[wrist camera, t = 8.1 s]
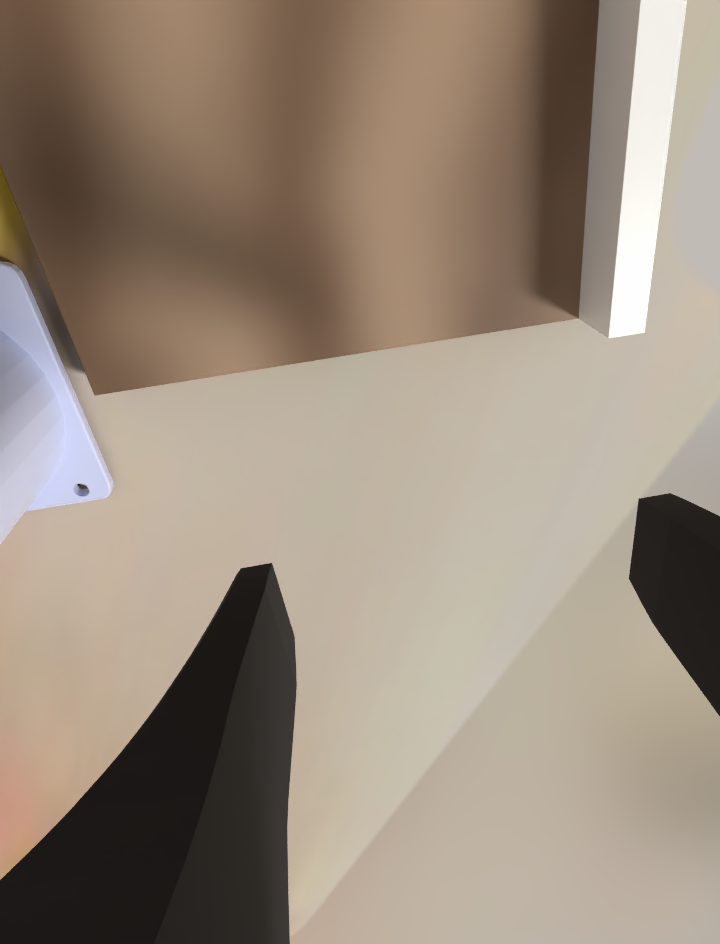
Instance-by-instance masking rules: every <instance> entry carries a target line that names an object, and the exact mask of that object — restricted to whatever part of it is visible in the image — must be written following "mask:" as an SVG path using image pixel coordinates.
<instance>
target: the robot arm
mask: <svg viewBox="0 0 720 944" xmlns="http://www.w3.org/2000/svg"><path fill="white" fill-rule="evenodd" d="M77 484H83V485H86V486H87V487H88V489H89V490H82V489H80V488H79V487H78V485H77ZM112 488H113V480H112V478H111V475H110V473H109V471H108V468H107V466H106V464H105V461H104V459H103V457H102V454H101V452H100V450H99V447H98V445H97V443H96V440H95V438H94V436H93V433H92V431H91V429H90V426H89V424H88V422H87V419H86V417H85V415H84V412H83V410H82V408H81V405H80V403H79V401H78V398H77V396H76V394H75V391H74V389H73V387H72V384H71V382H70V380H69V377H68V375H67V373H66V370H65V368H64V366H63V363H62V361H61V359H60V356H59V354H58V352H57V349H56V347H55V345H54V342H53V340H52V338H51V335H50V333H49V331H48V328H47V326H46V324H45V321H44V319H43V317H42V314H41V312H40V310H39V307H38V305H37V303H36V300H35V298H34V296H33V293H32V291H31V289H30V286H29V284H28V282H27V279H26V277H25V275H24V274H23V272H22V271H21V270H20V269H19V268H18V267H17V266H16V265H14V264H12V263H9V262H2V261H0V544H1V543H2V541H3V540H4V539H5V537H6V536H7V535H8V533H9V532H10V531H11V529H12V528H13V527H14V525H15V524H16V523H17V521H18V520H19V519H20V517H21V516H22V515H23V513H24V512H25V511H29V510H36V509H42V508H48V507H54V506H61V505H67V504H73V503H79V502H86V501H92V500H98V499H103V498H106V497H107V496H108V495H109V494H110V492H111V491H112ZM629 579H630V581H631V583H632V585H633V587H634V589H635V591H636V593H637V595H638V597H639V599H640V601H641V603H642V604H643V606H644V608H645V610H646V612H647V613H648V615H649V617H650V619H651V621H652V622H653V624H654V625H655V627H656V628H657V630H658V631H659V633H660V634H661V636H662V637H663V638H664V640H665V641H666V643H667V644H668V645H669V647H670V648H671V650H672V651H673V652H674V654H675V655H676V657H677V658H678V659H679V661H680V662H681V664H682V665H683V666H684V668H685V669H686V670H687V672H688V673H689V675H690V676H691V677H692V679H693V680H694V681H695V683H696V684H697V685H698V687H699V688H700V690H701V691H702V692H703V694H704V695H705V696H706V698H707V699H708V700H709V702H710V703H711V705H712V706H713V707H714V709H715V710H716V712H717V713H718V714H719V716H720V516H718V515H716V514H714V513H712V512H710V511H708V510H706V509H704V508H701V507H699V506H697V505H695V504H693V503H691V502H689V501H687V500H685V499H682V498H680V497H678V496H675V495H673V494H670V493H669V494H664V495H658V496H652V497H646V498H641V499H639V502H638V510H637V518H636V526H635V534H634V542H633V550H632V558H631V566H630V575H629ZM296 686H297V684H296V658H295V637H294V634H293V630H292V627H291V624H290V620H289V617H288V614H287V611H286V607H285V604H284V601H283V598H282V594H281V591H280V588H279V585H278V581H277V578H276V575H275V572H274V568H273V565H272V563H270V564H264V565H258V566H252V567H247V568H241V569H240V571H239V572H238V573H237V575H236V577H235V579H234V581H233V582H232V584H231V586H230V588H229V590H228V592H227V594H226V595H225V597H224V599H223V601H222V603H221V605H220V606H219V608H218V610H217V612H216V613H215V615H214V617H213V619H212V621H211V622H210V624H209V626H208V627H207V629H206V631H205V632H204V634H203V636H202V637H201V639H200V641H199V642H198V644H197V646H196V647H195V649H194V651H193V652H192V654H191V656H190V657H189V659H188V660H187V662H186V663H185V665H184V666H183V668H182V669H181V671H180V672H179V674H178V675H177V677H176V678H175V680H174V681H173V683H172V684H171V686H170V687H169V689H168V690H167V692H166V693H165V695H164V696H163V698H162V699H161V701H160V702H159V703H158V705H157V706H156V707H155V709H154V710H153V712H152V713H151V714H150V716H149V717H148V718H147V720H146V721H145V722H144V724H143V725H142V726H141V728H140V729H139V730H138V732H137V733H136V734H135V735H134V737H133V738H132V739H131V740H130V742H129V743H128V744H127V745H126V747H125V748H124V749H123V750H122V752H121V753H120V754H119V755H118V757H117V758H116V759H115V760H114V761H113V762H112V764H111V765H110V766H109V767H108V768H107V769H106V771H105V772H104V773H103V774H102V775H101V776H100V778H99V779H98V780H97V781H96V782H95V783H94V784H93V785H92V786H91V788H90V789H89V790H88V791H87V792H86V793H85V794H84V795H83V797H82V798H81V799H80V800H79V801H78V802H77V803H76V804H75V806H74V807H73V808H72V809H71V810H70V811H69V812H68V813H67V814H66V815H65V816H64V817H63V818H62V819H61V820H60V821H59V823H58V824H57V825H56V826H55V827H54V828H53V829H52V830H51V831H50V832H49V833H48V834H47V835H46V836H45V837H44V838H43V839H42V840H41V841H40V842H39V843H38V844H37V845H36V846H35V847H34V848H33V849H32V850H31V851H30V852H29V853H28V854H27V855H26V856H25V857H24V858H23V859H22V860H21V861H20V862H19V863H17V864H16V865H15V866H14V867H13V868H12V869H11V870H10V871H9V872H8V873H7V874H6V875H5V876H4V877H3V878H2V879H1V880H0V944H290V942H289V905H288V854H287V818H288V796H289V783H290V769H291V756H292V743H293V730H294V716H295V702H296Z"/></svg>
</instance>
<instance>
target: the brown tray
mask: <svg viewBox="0 0 720 944" xmlns="http://www.w3.org/2000/svg"><path fill="white" fill-rule="evenodd" d="M686 3H687V0H0V166H1V168H2V171H3V173H4V175H5V178H6V180H7V183H8V185H9V188H10V190H11V193H12V195H13V197H14V200H15V202H16V205H17V207H18V210H19V212H20V214H21V217H22V219H23V222H24V224H25V227H26V229H27V232H28V234H29V236H30V239H31V241H32V244H33V246H34V249H35V251H36V253H37V256H38V258H39V261H40V263H41V266H42V268H43V271H44V273H45V275H46V278H47V280H48V283H49V285H50V288H51V290H52V293H53V295H54V297H55V300H56V302H57V305H58V307H59V310H60V312H61V314H62V317H63V319H64V322H65V324H66V327H67V329H68V332H69V334H70V336H71V339H72V341H73V344H74V346H75V349H76V351H77V353H78V356H79V358H80V361H81V363H82V366H83V368H84V371H85V373H86V375H87V378H88V380H89V383H90V385H91V388H92V390H93V392H94V395H100V394H107V393H113V392H119V391H125V390H132V389H138V388H144V387H150V386H157V385H163V384H169V383H176V382H182V381H188V380H194V379H201V378H207V377H213V376H220V375H226V374H232V373H238V372H245V371H251V370H257V369H264V368H270V367H276V366H282V365H289V364H295V363H301V362H307V361H314V360H320V359H326V358H333V357H339V356H345V355H351V354H358V353H364V352H370V351H377V350H383V349H389V348H395V347H402V346H408V345H414V344H420V343H427V342H433V341H439V340H446V339H452V338H458V337H464V336H471V335H477V334H483V333H490V332H496V331H502V330H508V329H515V328H521V327H527V326H534V325H540V324H546V323H552V322H559V321H565V320H571V319H577V318H579V319H580V320H582V321H583V322H585V323H586V324H588V325H589V326H591V327H592V328H594V329H596V330H597V331H599V332H600V333H602V334H603V335H605V336H606V337H608V338H613V337H619V336H625V335H632V334H638V333H644V332H645V324H646V316H647V308H648V300H649V293H650V285H651V277H652V269H653V261H654V253H655V246H656V238H657V230H658V222H659V214H660V207H661V199H662V191H663V183H664V175H665V167H666V160H667V152H668V144H669V136H670V128H671V121H672V113H673V105H674V97H675V89H676V82H677V74H678V66H679V58H680V50H681V42H682V35H683V27H684V19H685V11H686Z"/></svg>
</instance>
